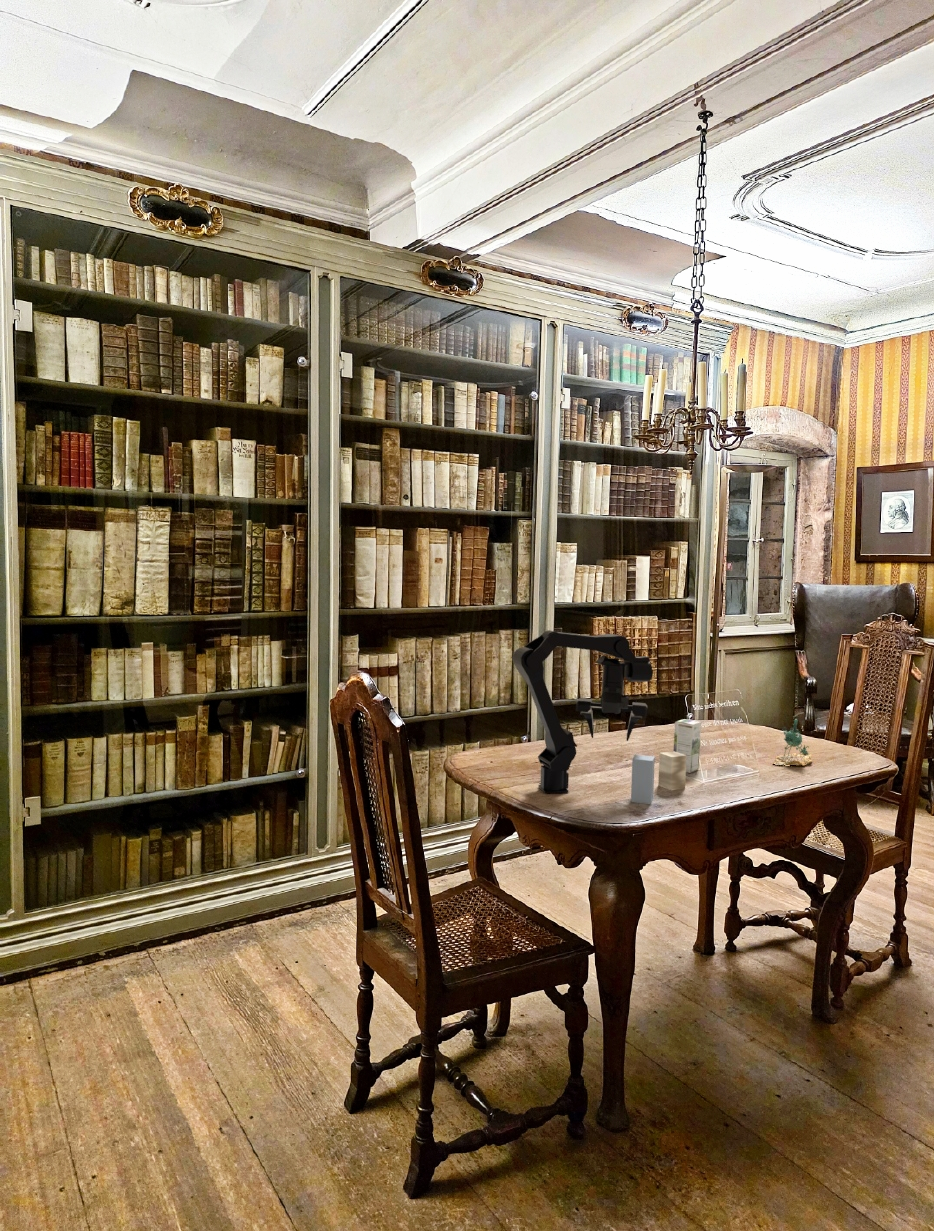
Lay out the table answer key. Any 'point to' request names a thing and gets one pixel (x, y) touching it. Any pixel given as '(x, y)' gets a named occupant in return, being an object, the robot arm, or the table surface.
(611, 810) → the table surface
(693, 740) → the syrup box
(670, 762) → the birch post
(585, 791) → the table surface
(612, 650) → the robot arm
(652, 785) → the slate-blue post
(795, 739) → the frog figurine
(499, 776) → the table surface
